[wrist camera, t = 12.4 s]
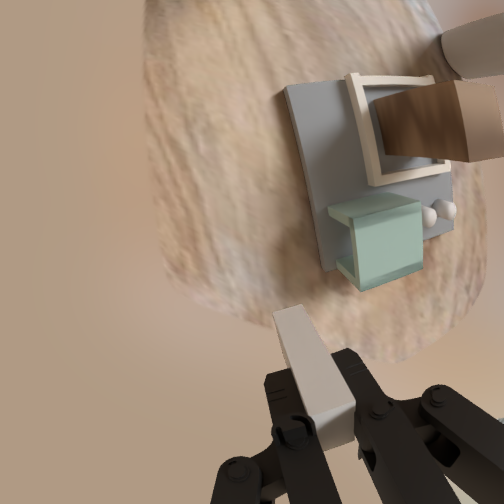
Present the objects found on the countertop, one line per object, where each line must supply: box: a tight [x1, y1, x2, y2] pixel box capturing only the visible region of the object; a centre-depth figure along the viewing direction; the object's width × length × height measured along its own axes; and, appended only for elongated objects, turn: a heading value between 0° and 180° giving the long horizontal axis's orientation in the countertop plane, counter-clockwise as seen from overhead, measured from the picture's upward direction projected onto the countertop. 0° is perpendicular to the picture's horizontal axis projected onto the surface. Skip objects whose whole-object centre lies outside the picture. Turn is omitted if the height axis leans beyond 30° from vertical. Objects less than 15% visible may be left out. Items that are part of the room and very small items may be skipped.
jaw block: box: [373, 80, 504, 163], centre depth 16 cm, size 5×5×10 cm
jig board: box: [283, 73, 456, 272], centre depth 21 cm, size 16×16×3 cm
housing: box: [327, 192, 423, 292], centre depth 21 cm, size 6×6×5 cm
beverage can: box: [441, 13, 504, 79], centre depth 13 cm, size 6×6×12 cm
